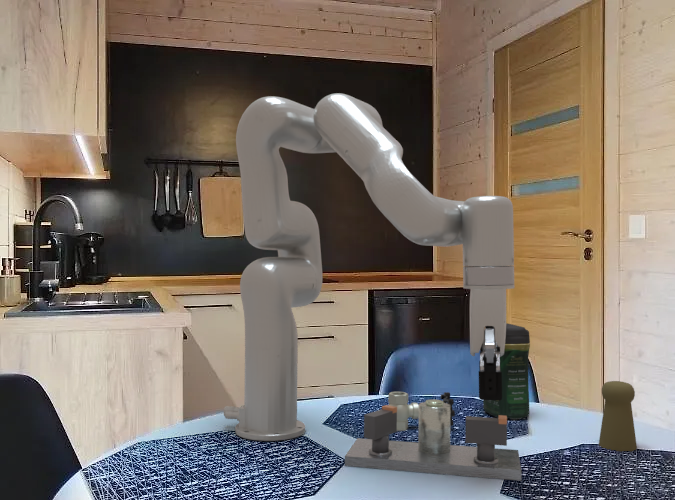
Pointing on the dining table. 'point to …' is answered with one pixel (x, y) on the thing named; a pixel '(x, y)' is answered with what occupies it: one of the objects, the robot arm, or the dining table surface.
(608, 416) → the cork
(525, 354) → the coffee jar
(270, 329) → the robot arm
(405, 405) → the valve
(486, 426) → the knob
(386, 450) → the knob
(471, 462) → the plate
